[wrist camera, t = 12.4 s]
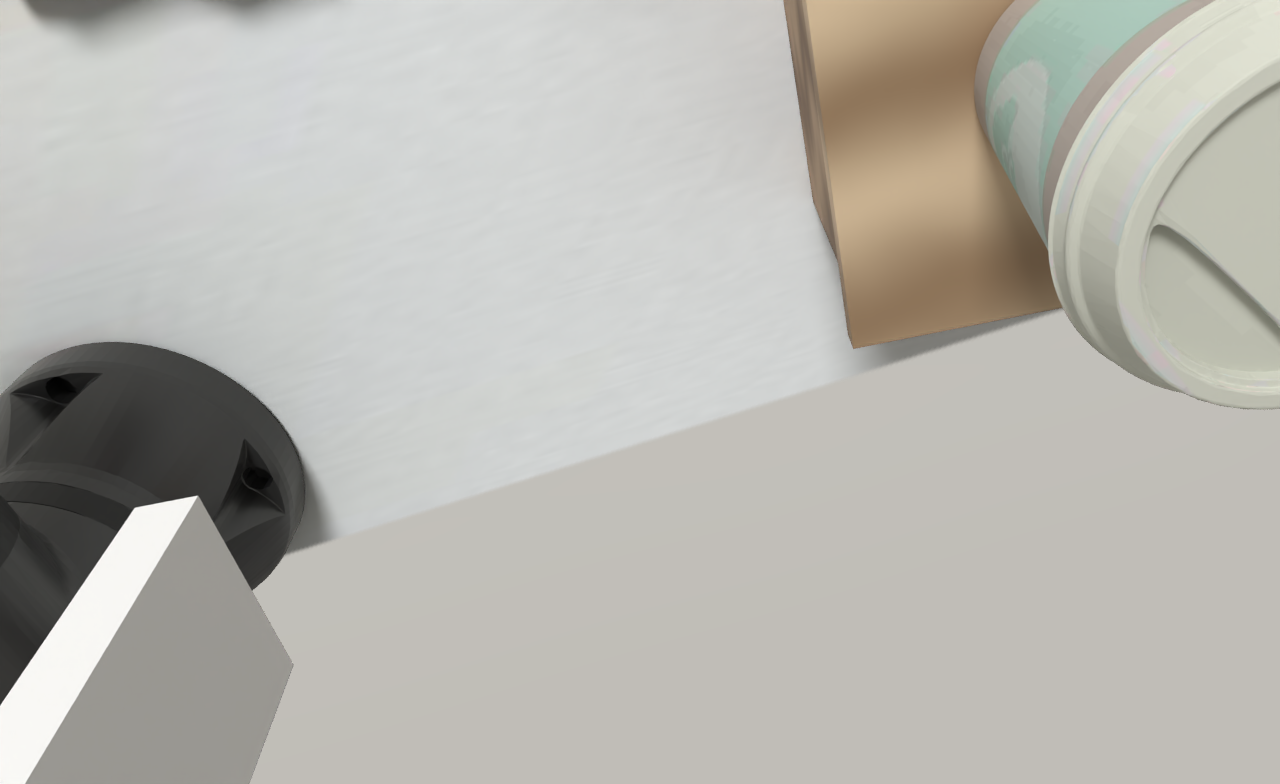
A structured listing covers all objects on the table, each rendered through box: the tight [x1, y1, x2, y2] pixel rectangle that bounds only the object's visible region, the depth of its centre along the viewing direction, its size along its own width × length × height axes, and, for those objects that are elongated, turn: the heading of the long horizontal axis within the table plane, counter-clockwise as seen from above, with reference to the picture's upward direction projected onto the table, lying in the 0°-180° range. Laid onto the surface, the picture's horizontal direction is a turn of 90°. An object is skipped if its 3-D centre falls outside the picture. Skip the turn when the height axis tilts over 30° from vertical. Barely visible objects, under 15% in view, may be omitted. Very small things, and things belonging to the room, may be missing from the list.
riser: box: [784, 0, 1063, 349], centre depth 33 cm, size 15×15×12 cm
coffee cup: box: [974, 0, 1280, 409], centre depth 23 cm, size 9×8×12 cm
